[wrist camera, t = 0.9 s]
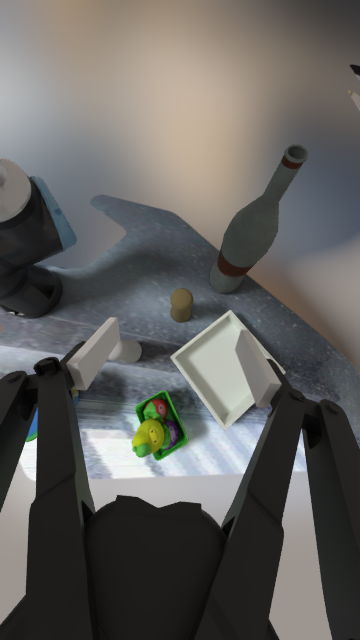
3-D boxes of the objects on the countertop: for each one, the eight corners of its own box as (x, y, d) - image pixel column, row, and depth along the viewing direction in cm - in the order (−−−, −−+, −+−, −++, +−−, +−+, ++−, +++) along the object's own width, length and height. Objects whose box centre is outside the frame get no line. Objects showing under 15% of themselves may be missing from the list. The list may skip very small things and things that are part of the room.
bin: (170, 357, 41) (169, 356, 37) (225, 314, 44) (230, 309, 40) (219, 423, 37) (224, 431, 33) (275, 371, 40) (286, 372, 36)
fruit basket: (188, 431, 36) (193, 461, 25) (154, 451, 35) (144, 492, 24) (167, 385, 39) (163, 394, 28) (134, 403, 38) (117, 420, 27)
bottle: (233, 300, 45) (333, 191, 16) (203, 290, 46) (249, 168, 17) (241, 273, 47) (341, 137, 18) (212, 264, 48) (267, 118, 19)
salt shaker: (135, 336, 42) (117, 326, 29) (147, 353, 41) (134, 350, 28) (117, 350, 41) (90, 345, 28) (129, 368, 40) (107, 371, 27)
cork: (193, 320, 43) (199, 306, 33) (172, 324, 43) (171, 312, 32) (188, 300, 45) (192, 281, 34) (168, 304, 44) (165, 286, 34)
